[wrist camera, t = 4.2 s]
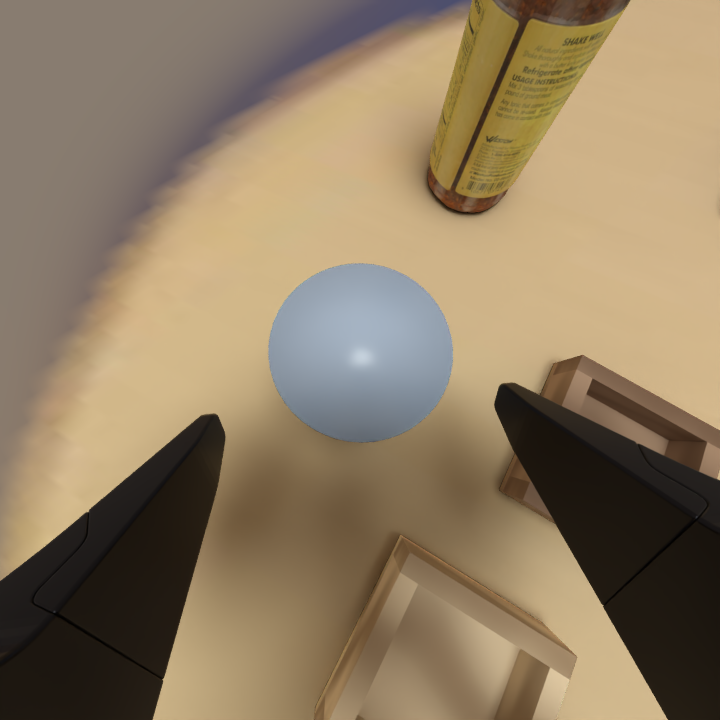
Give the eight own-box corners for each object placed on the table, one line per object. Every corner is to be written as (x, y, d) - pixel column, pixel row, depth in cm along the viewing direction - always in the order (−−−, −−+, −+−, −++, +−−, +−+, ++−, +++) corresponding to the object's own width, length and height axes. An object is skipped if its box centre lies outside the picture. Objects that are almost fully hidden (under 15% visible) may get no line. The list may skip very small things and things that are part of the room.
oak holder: (474, 815, 14) (499, 891, 12) (315, 707, 15) (310, 759, 13) (543, 623, 16) (577, 657, 14) (400, 534, 17) (409, 552, 14)
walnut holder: (638, 573, 17) (685, 597, 15) (499, 490, 18) (522, 499, 15) (681, 434, 19) (728, 435, 17) (554, 363, 20) (582, 354, 17)
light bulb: (366, 451, 18) (401, 490, 7) (294, 407, 18) (221, 380, 7) (406, 378, 19) (490, 316, 8) (337, 338, 19) (330, 227, 8)
